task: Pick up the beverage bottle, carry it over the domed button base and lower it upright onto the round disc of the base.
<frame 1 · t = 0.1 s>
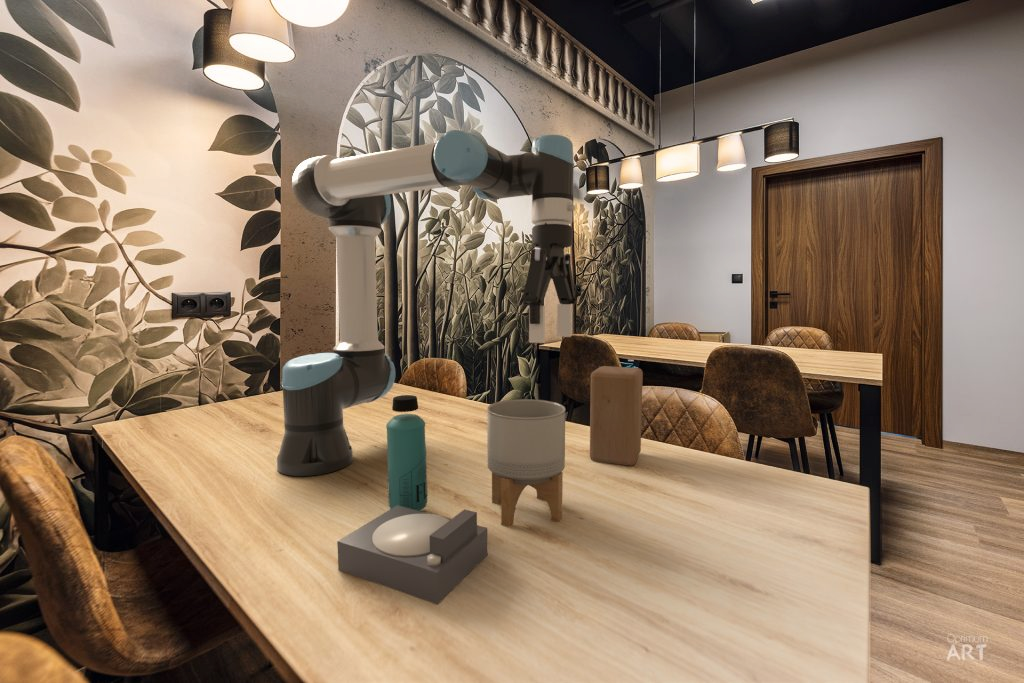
hand: (551, 339, 90), 28 cm above the table, fingers open, 13 cm apart
wooden block: (615, 458, 107), on the table
domed button base: (415, 562, 65), on the table
planter: (525, 511, 80), on the table
beverage bottle: (408, 515, 79), on the table
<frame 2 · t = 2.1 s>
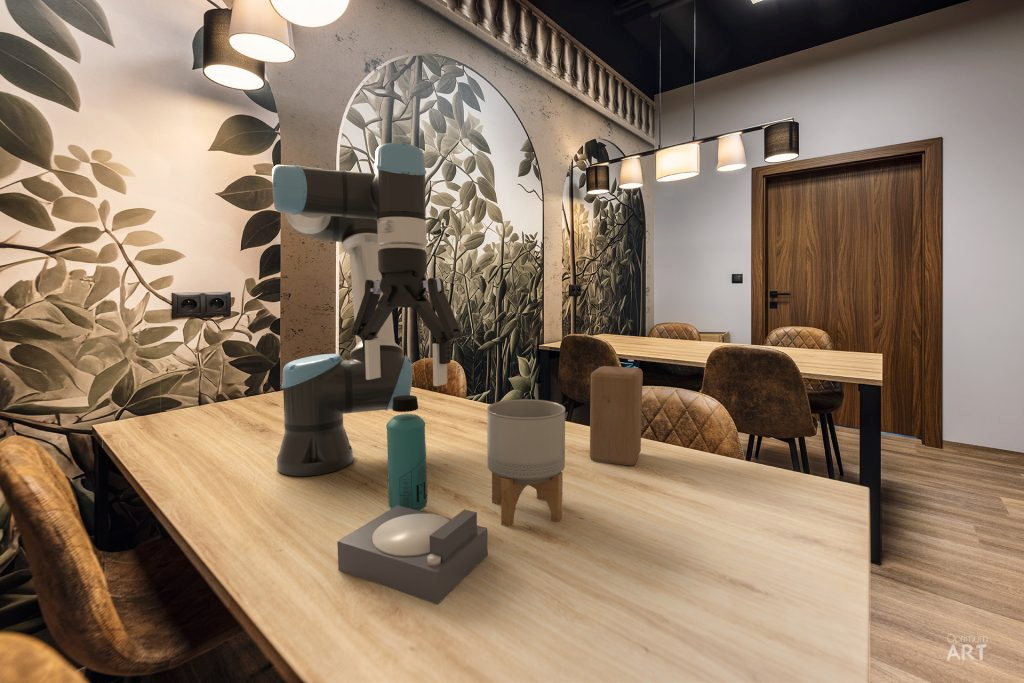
hand: (405, 381, 77), 22 cm above the table, fingers open, 13 cm apart
nothing on the table moved.
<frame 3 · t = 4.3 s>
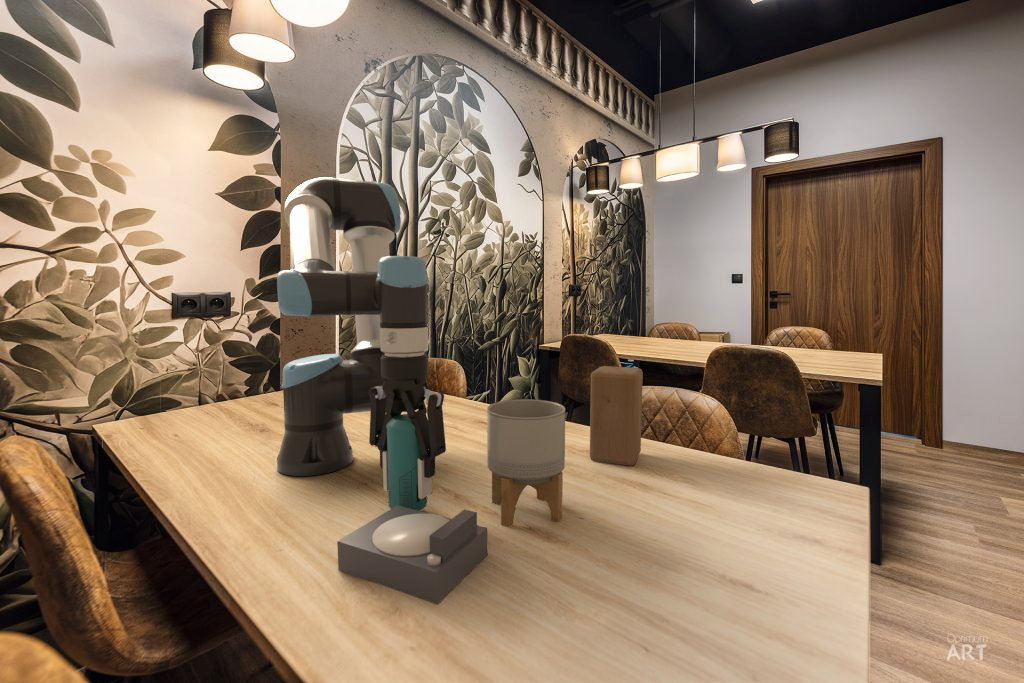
hand: (407, 491, 79), 4 cm above the table, fingers closed on beverage bottle, 6 cm apart
beverage bottle: (408, 515, 79), on the table, touching gripper
everything else where it was.
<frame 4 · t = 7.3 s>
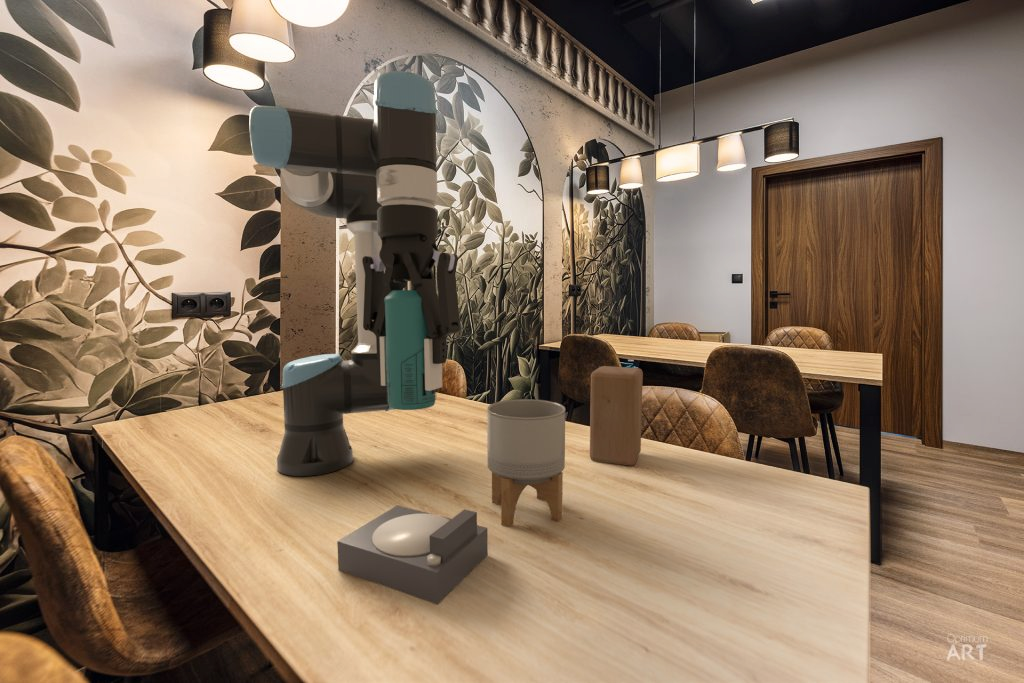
hand: (411, 385, 62), 24 cm above the table, fingers closed on beverage bottle, 6 cm apart
beverage bottle: (411, 416, 63), point 20 cm above the table, touching gripper
everything else where it was.
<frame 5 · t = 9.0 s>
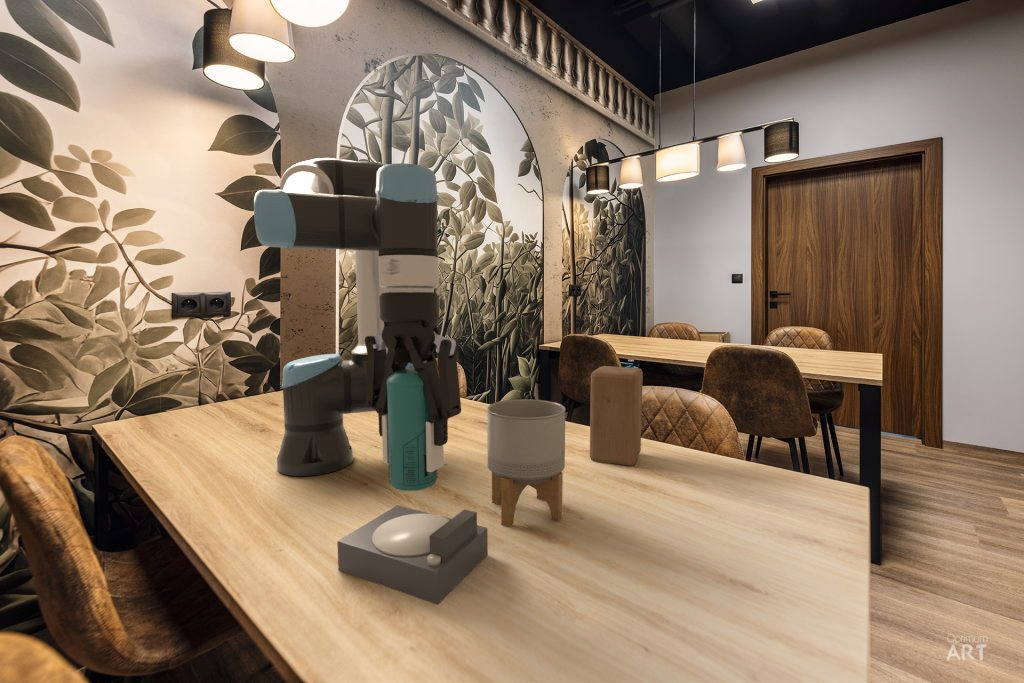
hand: (413, 463, 63), 14 cm above the table, fingers closed on beverage bottle, 6 cm apart
beverage bottle: (413, 494, 64), point 10 cm above the table, touching gripper
everything else where it was.
when the fingers open (9 cm above the table, at t = 10.3 s): beverage bottle drops 1 cm, resting on domed button base.
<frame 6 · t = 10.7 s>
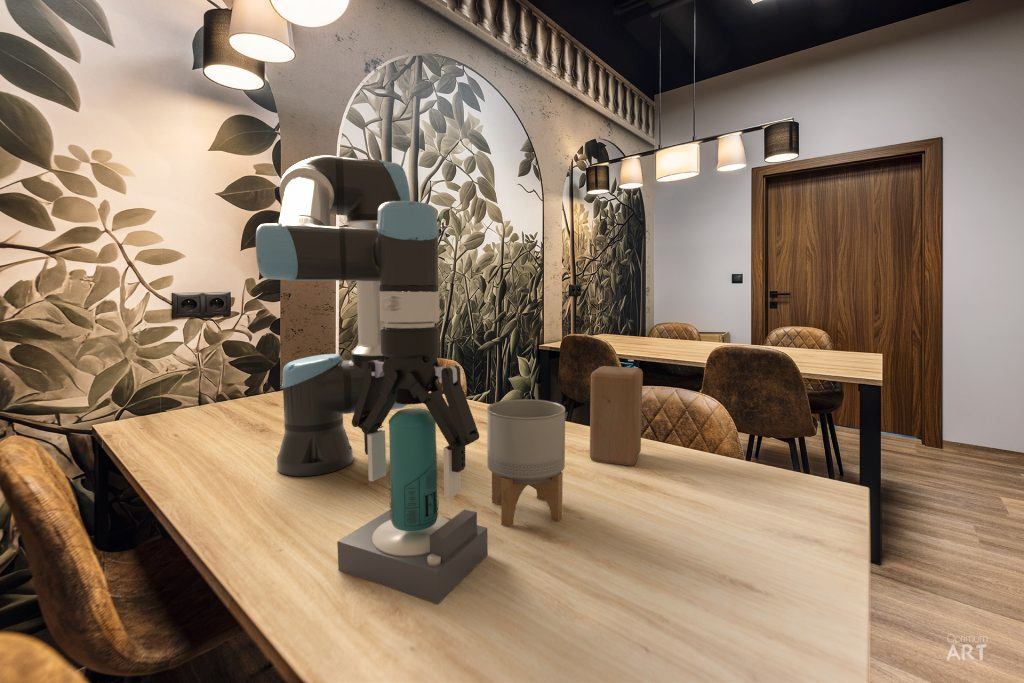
hand: (413, 485, 64), 11 cm above the table, fingers open, 12 cm apart
beverage bottle: (414, 532, 64), point 4 cm above the table, touching domed button base
everything else where it was.
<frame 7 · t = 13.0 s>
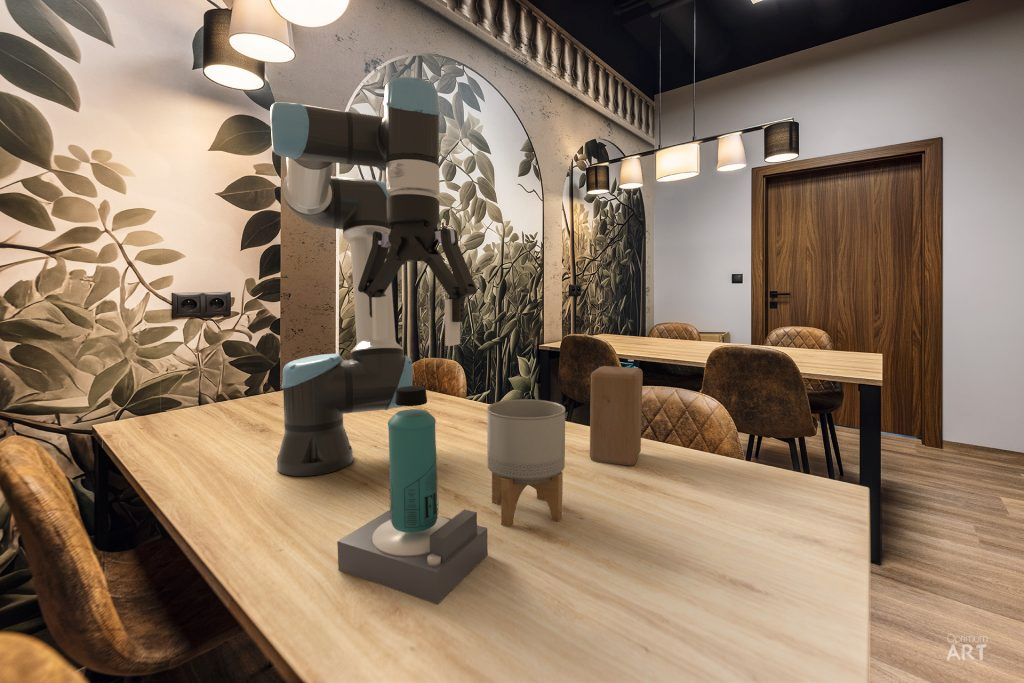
hand: (415, 342, 71), 29 cm above the table, fingers open, 13 cm apart
nothing on the table moved.
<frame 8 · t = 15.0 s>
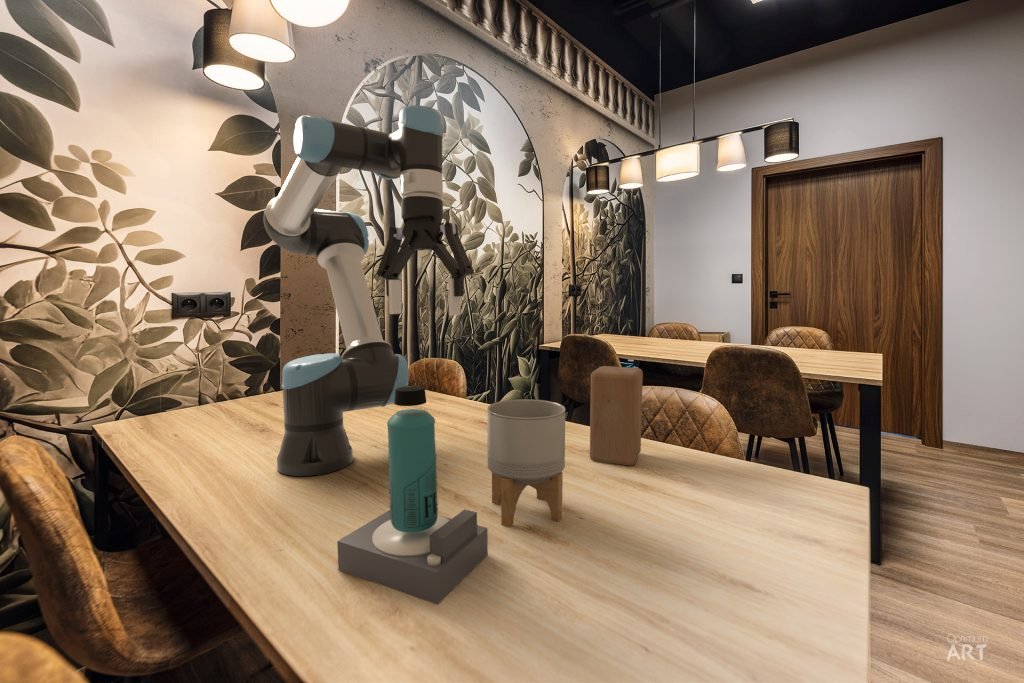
hand: (424, 314, 89), 33 cm above the table, fingers open, 13 cm apart
nothing on the table moved.
at the end: beverage bottle inside the target area on the domed button base (0.0 cm from its centre), point 4.1 cm above the domed button base's base; beverage bottle tilted 0°; the gripper is holding nothing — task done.
